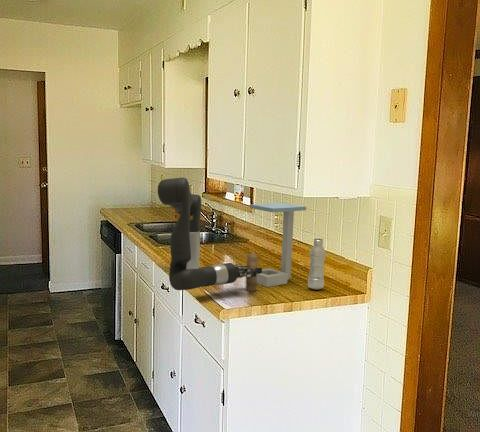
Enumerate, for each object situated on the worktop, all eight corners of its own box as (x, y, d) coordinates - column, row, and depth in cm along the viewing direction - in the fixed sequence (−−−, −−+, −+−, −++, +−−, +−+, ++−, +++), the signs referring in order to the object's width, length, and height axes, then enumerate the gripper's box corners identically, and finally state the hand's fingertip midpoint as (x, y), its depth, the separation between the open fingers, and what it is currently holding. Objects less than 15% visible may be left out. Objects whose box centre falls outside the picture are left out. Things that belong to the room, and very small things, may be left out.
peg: (244, 288, 204) (246, 253, 202) (254, 288, 205) (256, 253, 203) (247, 291, 200) (248, 255, 198) (257, 291, 201) (259, 255, 199)
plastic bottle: (320, 286, 211) (323, 237, 208) (326, 291, 204) (329, 241, 202) (305, 286, 210) (307, 237, 207) (310, 291, 203) (313, 240, 200)
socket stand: (269, 287, 206) (272, 208, 202) (247, 279, 217) (250, 204, 213) (302, 281, 217) (306, 206, 213) (279, 274, 228) (283, 202, 224)
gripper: (233, 268, 186) (270, 263, 197) (210, 260, 198) (246, 255, 208) (232, 288, 187) (269, 282, 198) (210, 279, 199) (245, 274, 209)
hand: (257, 268), depth 203 cm, fingers open, 4 cm apart
